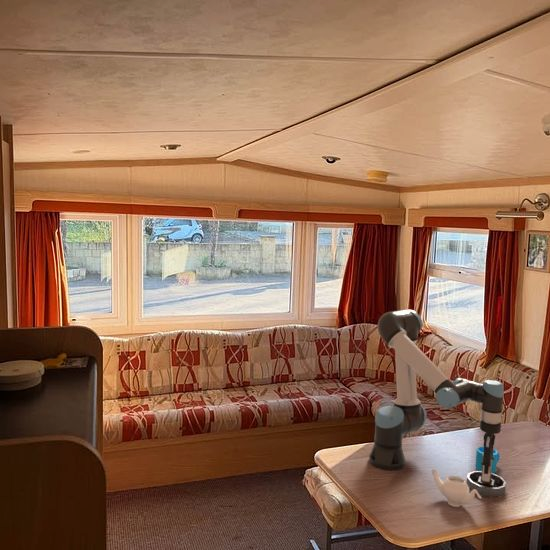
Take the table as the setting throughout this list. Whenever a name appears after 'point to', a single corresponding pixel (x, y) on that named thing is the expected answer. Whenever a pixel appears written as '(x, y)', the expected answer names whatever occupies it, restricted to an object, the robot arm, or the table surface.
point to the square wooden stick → (490, 471)
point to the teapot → (455, 490)
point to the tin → (486, 484)
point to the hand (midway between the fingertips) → (486, 477)
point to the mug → (479, 459)
